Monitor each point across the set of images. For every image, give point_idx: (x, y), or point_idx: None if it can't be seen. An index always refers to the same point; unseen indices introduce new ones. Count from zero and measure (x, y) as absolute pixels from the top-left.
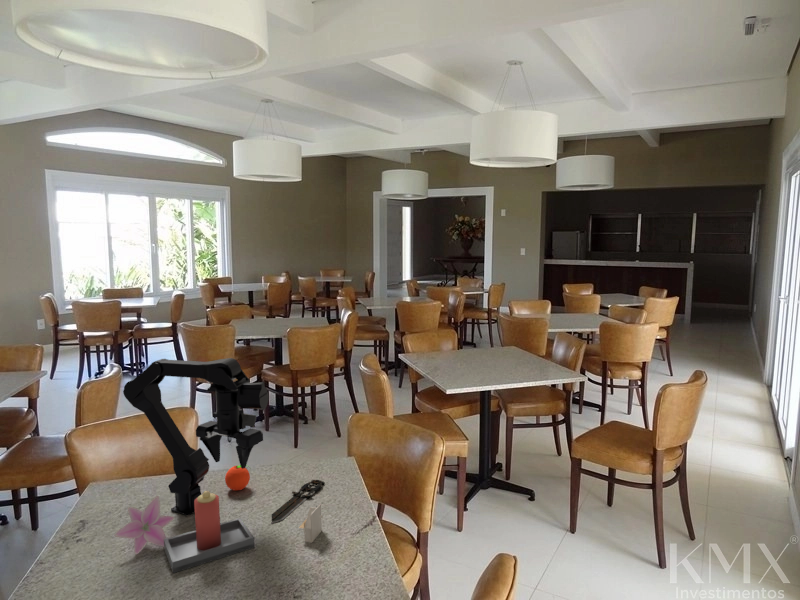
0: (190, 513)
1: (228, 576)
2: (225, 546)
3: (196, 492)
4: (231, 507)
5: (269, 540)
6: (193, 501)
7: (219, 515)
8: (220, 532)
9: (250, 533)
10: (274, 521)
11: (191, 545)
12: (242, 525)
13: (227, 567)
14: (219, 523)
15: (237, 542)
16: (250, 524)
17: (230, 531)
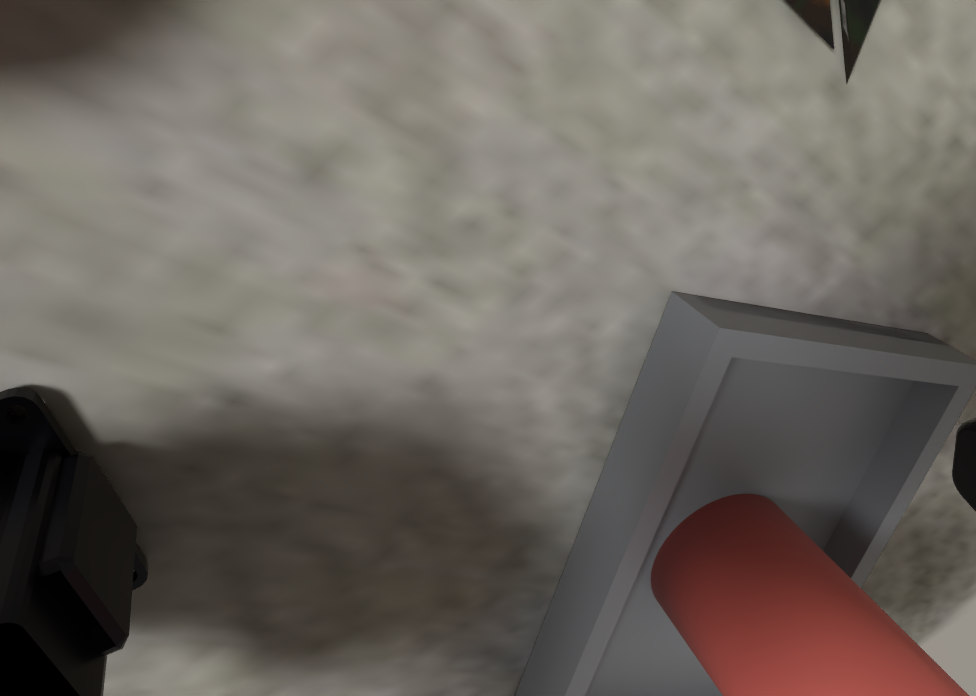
0: (138, 549)
1: (960, 524)
2: (893, 530)
3: (65, 624)
4: (276, 189)
5: (962, 220)
6: (129, 604)
7: (923, 651)
8: (817, 547)
9: (939, 365)
10: (863, 41)
11: (646, 634)
12: (821, 365)
13: (913, 509)
14: (879, 607)
15: (930, 466)
16: (703, 212)
17: (717, 410)
